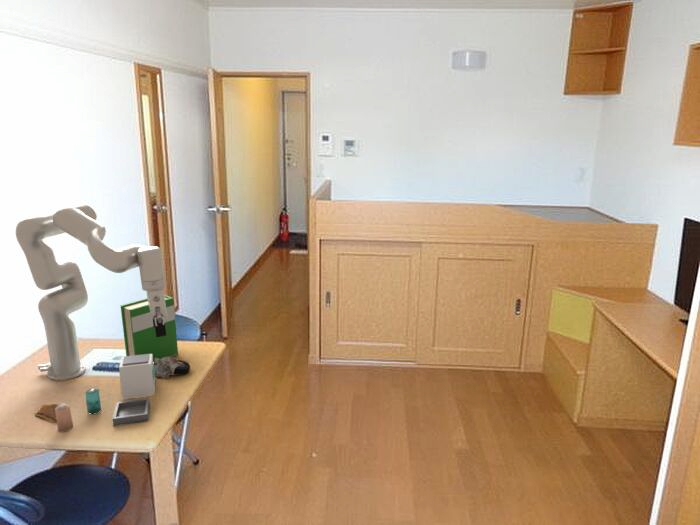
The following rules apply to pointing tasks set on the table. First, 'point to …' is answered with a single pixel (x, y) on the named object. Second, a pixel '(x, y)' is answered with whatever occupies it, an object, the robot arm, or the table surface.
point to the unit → (137, 376)
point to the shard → (48, 412)
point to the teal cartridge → (93, 400)
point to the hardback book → (148, 330)
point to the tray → (131, 412)
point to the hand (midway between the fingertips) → (159, 331)
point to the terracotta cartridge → (63, 417)
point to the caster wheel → (170, 367)
